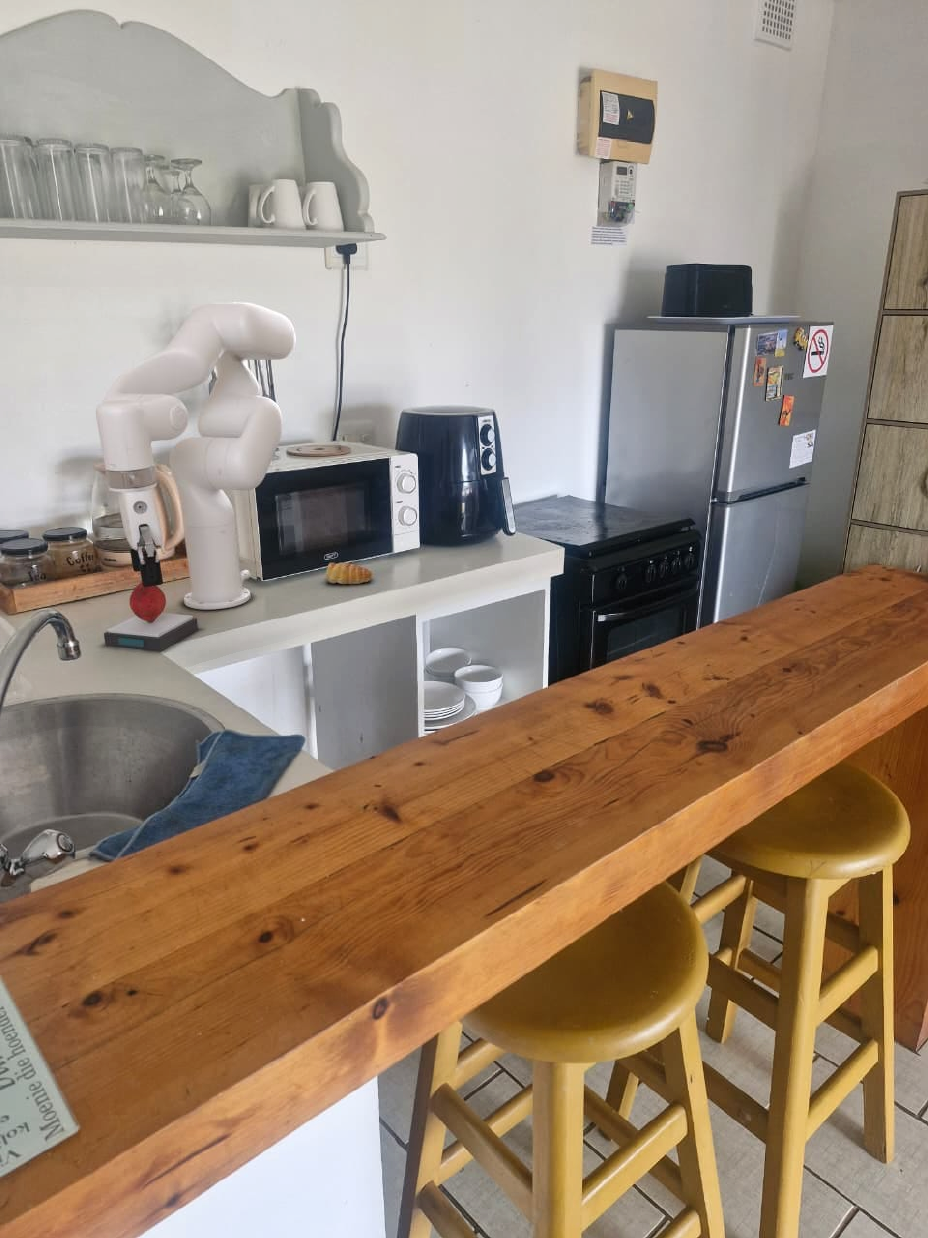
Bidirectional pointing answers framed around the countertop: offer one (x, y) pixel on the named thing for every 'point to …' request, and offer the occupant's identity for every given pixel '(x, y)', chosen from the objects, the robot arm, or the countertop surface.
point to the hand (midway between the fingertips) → (148, 577)
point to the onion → (147, 602)
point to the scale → (151, 632)
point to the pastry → (347, 573)
